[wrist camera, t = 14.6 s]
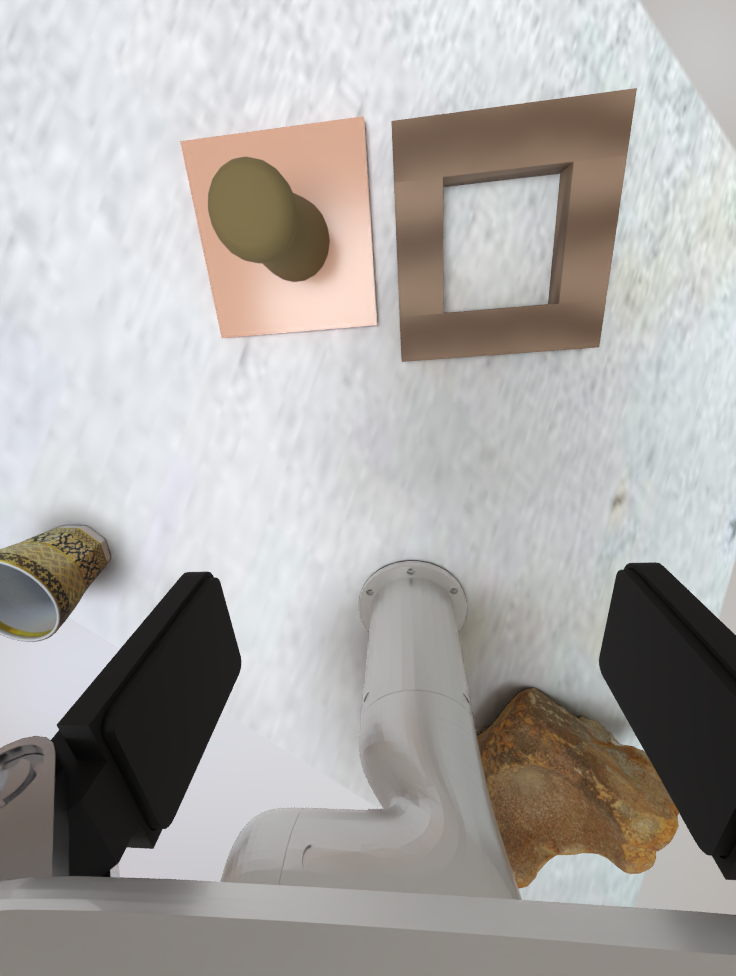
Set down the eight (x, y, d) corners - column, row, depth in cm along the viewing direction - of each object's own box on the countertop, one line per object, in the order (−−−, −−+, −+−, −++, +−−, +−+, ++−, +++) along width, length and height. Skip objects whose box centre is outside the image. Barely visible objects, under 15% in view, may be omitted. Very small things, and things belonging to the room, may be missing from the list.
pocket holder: (585, 345, 34) (599, 347, 32) (401, 358, 36) (401, 361, 34) (617, 106, 28) (636, 88, 26) (392, 136, 30) (391, 121, 27)
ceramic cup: (64, 494, 45) (-23, 540, 35) (139, 549, 47) (76, 605, 38) (19, 560, 49) (-68, 617, 40) (90, 607, 51) (23, 671, 42)
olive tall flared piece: (298, 175, 30) (248, 106, 20) (344, 250, 32) (318, 221, 22) (241, 229, 32) (167, 190, 22) (287, 297, 34) (239, 290, 24)
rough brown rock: (578, 640, 48) (635, 761, 35) (645, 728, 52) (722, 871, 38) (424, 708, 56) (420, 828, 43) (490, 780, 59) (506, 914, 46)
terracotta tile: (377, 324, 35) (377, 325, 34) (226, 337, 36) (221, 338, 35) (364, 122, 29) (363, 116, 29) (186, 146, 31) (180, 141, 30)
